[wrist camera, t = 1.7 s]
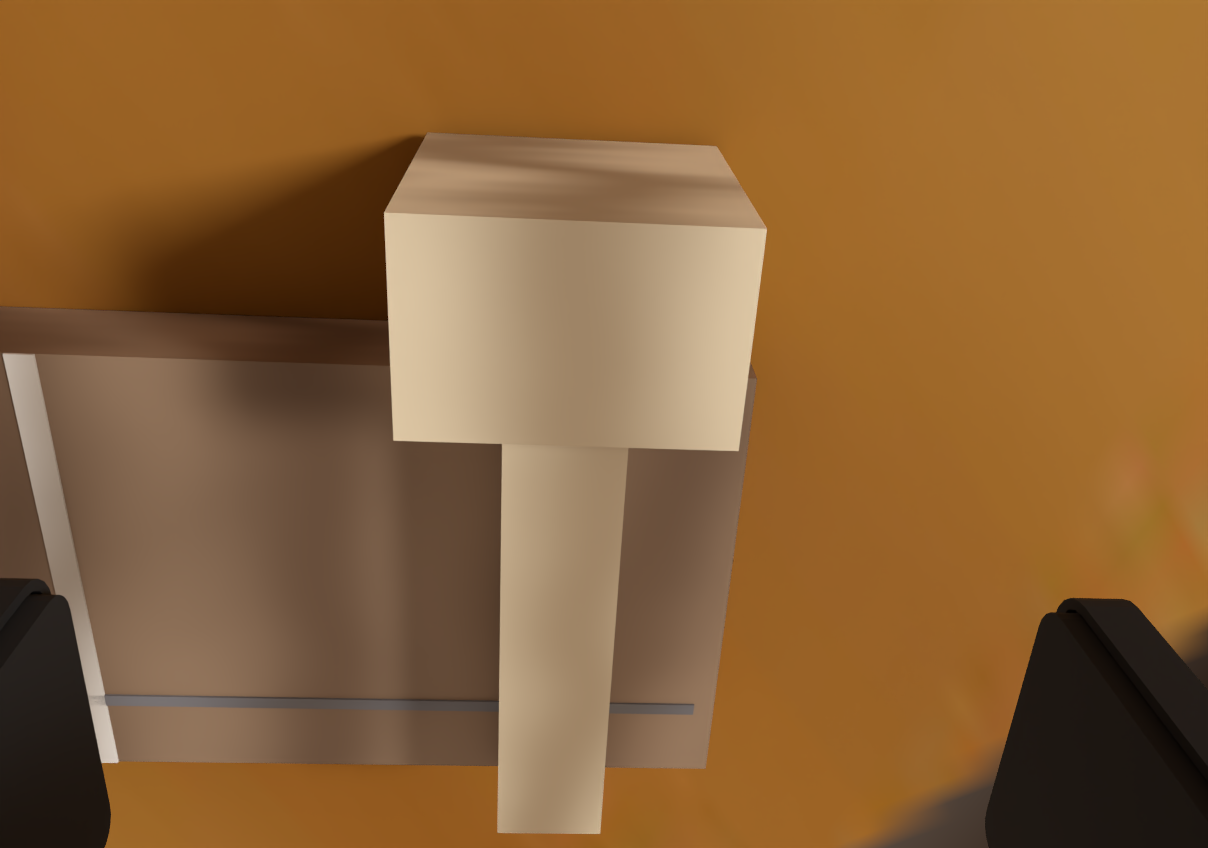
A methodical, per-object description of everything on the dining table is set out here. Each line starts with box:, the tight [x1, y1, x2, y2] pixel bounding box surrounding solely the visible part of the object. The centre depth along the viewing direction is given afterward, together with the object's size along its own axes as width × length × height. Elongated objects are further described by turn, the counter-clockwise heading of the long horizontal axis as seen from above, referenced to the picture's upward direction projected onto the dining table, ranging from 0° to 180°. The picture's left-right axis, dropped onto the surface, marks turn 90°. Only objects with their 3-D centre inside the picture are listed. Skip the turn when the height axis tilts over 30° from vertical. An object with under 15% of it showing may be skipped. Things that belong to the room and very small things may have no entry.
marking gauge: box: [384, 133, 767, 834], centre depth 23 cm, size 6×15×6 cm, turn 177°
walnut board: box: [0, 306, 757, 769], centre depth 25 cm, size 20×11×3 cm, turn 87°
